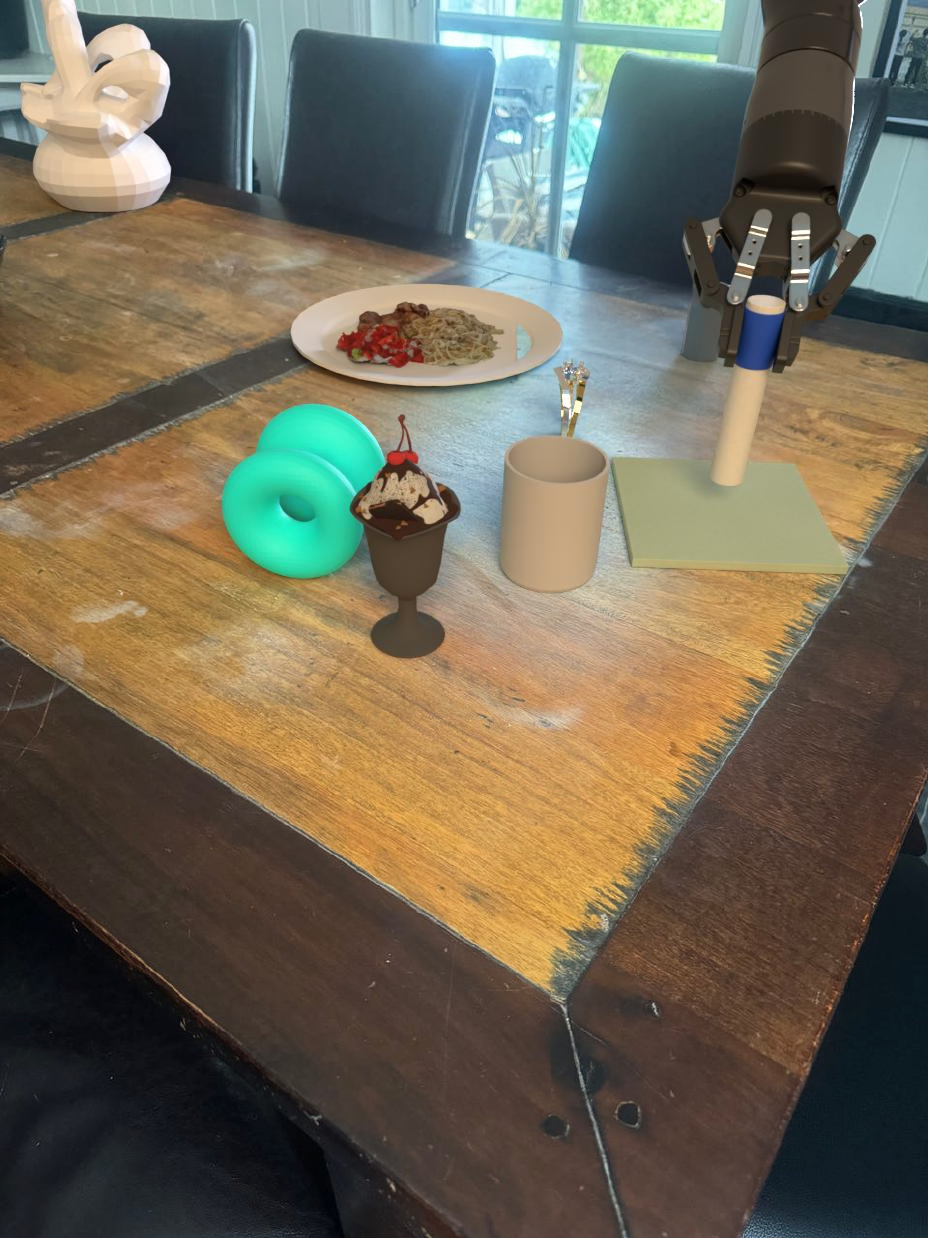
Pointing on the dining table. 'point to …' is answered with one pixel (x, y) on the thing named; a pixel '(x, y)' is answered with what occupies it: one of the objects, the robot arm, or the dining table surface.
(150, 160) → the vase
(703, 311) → the grey hollow cylinder
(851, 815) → the dining table surface
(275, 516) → the donuts
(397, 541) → the sundae
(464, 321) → the plated food
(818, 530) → the mat
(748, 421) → the marker
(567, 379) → the ring
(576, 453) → the cup
